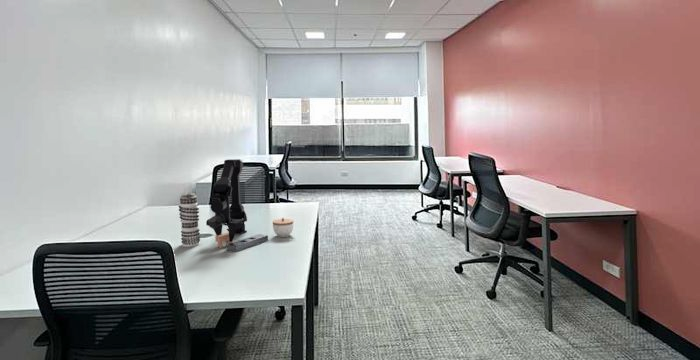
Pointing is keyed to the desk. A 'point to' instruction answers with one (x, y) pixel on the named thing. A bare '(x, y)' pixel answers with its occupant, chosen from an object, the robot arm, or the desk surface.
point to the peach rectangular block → (222, 239)
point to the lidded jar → (283, 227)
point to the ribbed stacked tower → (189, 219)
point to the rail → (247, 242)
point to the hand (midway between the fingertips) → (225, 240)
